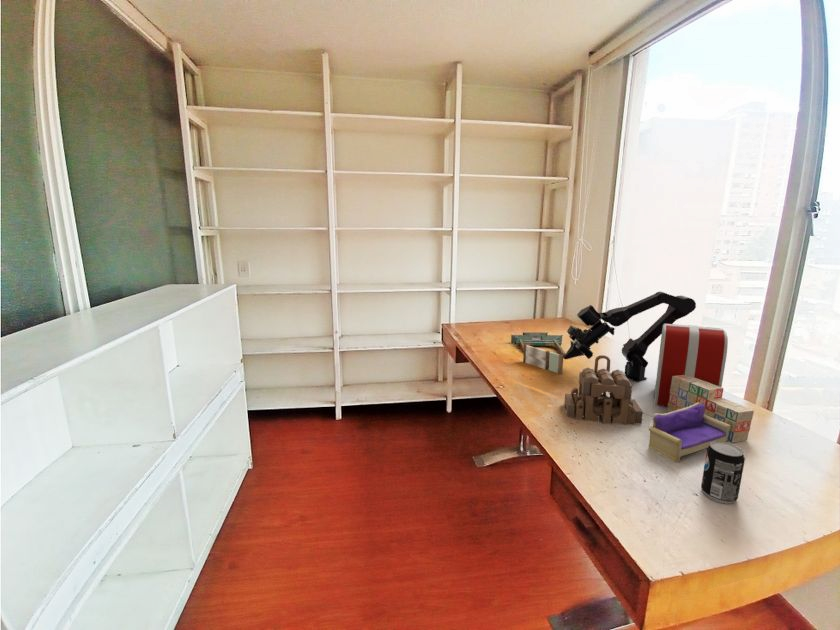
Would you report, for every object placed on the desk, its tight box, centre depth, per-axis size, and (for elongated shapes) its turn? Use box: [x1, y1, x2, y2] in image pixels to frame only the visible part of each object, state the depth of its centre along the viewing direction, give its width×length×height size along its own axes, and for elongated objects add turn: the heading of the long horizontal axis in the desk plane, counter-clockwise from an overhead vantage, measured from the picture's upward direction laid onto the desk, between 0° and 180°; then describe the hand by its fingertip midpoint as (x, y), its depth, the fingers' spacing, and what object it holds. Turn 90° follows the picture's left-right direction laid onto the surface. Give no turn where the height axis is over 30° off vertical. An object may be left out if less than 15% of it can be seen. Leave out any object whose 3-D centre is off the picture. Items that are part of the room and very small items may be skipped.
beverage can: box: [700, 441, 746, 505], centre depth 87 cm, size 7×7×12 cm
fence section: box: [522, 345, 551, 371], centre depth 171 cm, size 14×2×8 cm, turn 35°
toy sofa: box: [648, 403, 731, 464], centre depth 107 cm, size 21×9×10 cm, turn 111°
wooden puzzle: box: [564, 354, 644, 426], centre depth 126 cm, size 22×15×19 cm, turn 75°
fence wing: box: [548, 351, 564, 375], centre depth 163 cm, size 6×2×8 cm, turn 35°
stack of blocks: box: [666, 375, 755, 443], centre depth 118 cm, size 21×6×12 cm, turn 15°
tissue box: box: [653, 323, 729, 408], centre depth 133 cm, size 16×18×27 cm
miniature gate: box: [510, 331, 566, 357], centre depth 200 cm, size 27×6×30 cm
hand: (564, 358), depth 161 cm, fingers closed
